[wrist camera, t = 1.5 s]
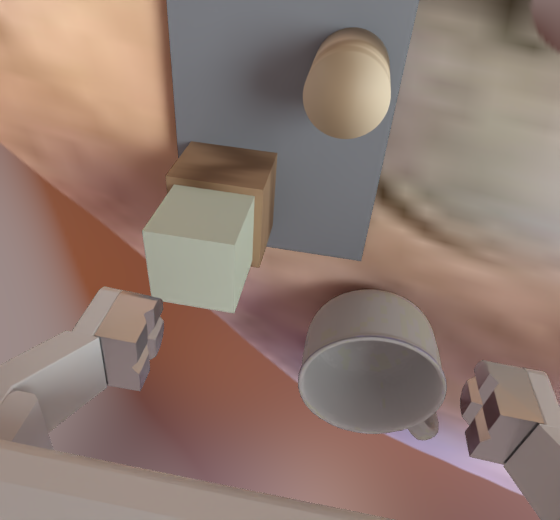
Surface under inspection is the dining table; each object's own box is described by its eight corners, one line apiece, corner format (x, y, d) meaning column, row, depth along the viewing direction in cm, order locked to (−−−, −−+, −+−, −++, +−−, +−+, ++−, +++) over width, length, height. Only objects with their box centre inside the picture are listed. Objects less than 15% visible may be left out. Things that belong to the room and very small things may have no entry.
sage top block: (254, 196, 28) (234, 245, 25) (252, 260, 32) (234, 313, 28) (174, 184, 29) (141, 230, 25) (179, 249, 32) (151, 299, 28)
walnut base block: (277, 153, 32) (263, 190, 28) (272, 226, 36) (259, 267, 32) (191, 141, 32) (165, 175, 29) (195, 214, 36) (173, 253, 32)
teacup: (286, 293, 41) (270, 366, 35) (406, 250, 36) (411, 326, 30) (359, 388, 47) (356, 464, 41) (469, 363, 43) (483, 444, 36)
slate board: (418, -7, 26) (419, -4, 25) (361, 253, 37) (361, 261, 36) (170, -33, 27) (164, -30, 26) (188, 226, 38) (184, 233, 38)
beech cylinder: (397, 32, 26) (399, 57, 22) (381, 109, 29) (381, 144, 25) (318, 23, 27) (307, 46, 23) (310, 100, 29) (298, 133, 25)
